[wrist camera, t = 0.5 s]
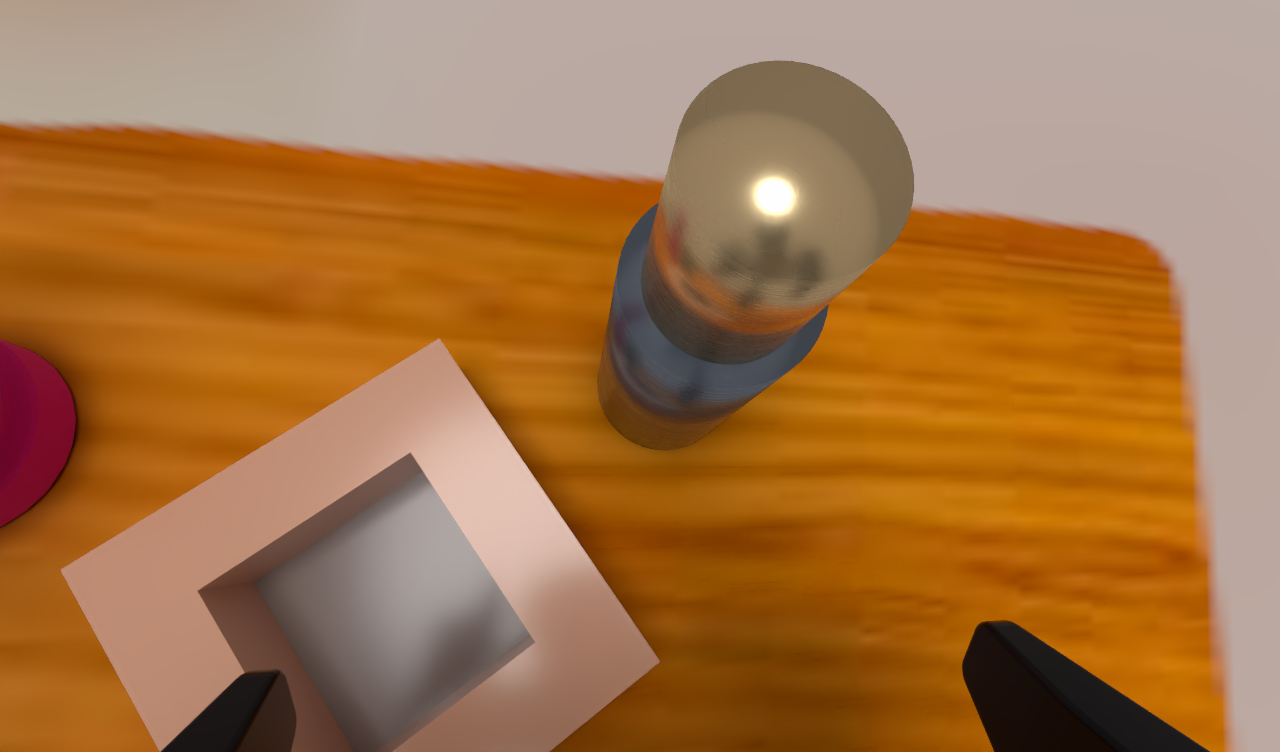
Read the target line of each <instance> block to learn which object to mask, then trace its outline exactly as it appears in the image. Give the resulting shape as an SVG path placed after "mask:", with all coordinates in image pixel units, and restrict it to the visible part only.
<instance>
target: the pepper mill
mask: <svg viewBox="0 0 1280 752" xmlns="http://www.w3.org/2000/svg"><path fill="white" fill-rule="evenodd" d="M75 425H76V415H75V410H74V404H73V399H72V396H71V392H70V390H69V388H68V386H67V385H66V383H65V382H64V380H63V379H62V377H61V376H60V374H59V373H58V371H57V370H56V369H55V368H54V367H53V366H52V365H51V364H50V363H48V362H47V361H46V360H45V359H43V358H42V357H41V356H39V355H37V354H35V353H33V352H32V351H30V350H28V349H25V348H22V347H19V346H17V345H14V344H11V343H8V342H6V341H3V340H0V527H1V526H3V525H5V524H6V523H8V522H10V521H11V520H13V519H14V518H16V517H18V516H19V515H21V514H22V513H24V512H25V511H26V510H27V509H28V508H30V507H31V506H32V505H33V504H34V503H35V502H36V501H38V500H39V499H40V498H41V497H42V496H43V495H44V494H45V493H46V492H47V491H48V489H49V488H50V487H51V485H52V484H53V482H54V481H55V479H56V478H57V476H58V475H59V473H60V472H61V470H62V469H63V467H64V466H65V464H66V461H67V459H68V456H69V453H70V450H71V448H72V444H73V438H74V432H75Z"/></svg>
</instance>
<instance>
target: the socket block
mask: <svg viewBox="0 0 1280 752" xmlns="http://www.w3.org/2000/svg"><path fill="white" fill-rule="evenodd" d="M61 572H62V574H63V576H64V578H65V579H66V581H67V583H68V585H69V587H70V589H71V590H72V592H73V594H74V596H75V598H76V599H77V601H78V603H79V605H80V607H81V609H82V610H83V612H84V614H85V616H86V618H87V620H88V621H89V623H90V625H91V627H92V629H93V631H94V632H95V634H96V636H97V638H98V640H99V641H100V643H101V645H102V647H103V649H104V651H105V652H106V654H107V656H108V658H109V660H110V662H111V663H112V665H113V667H114V669H115V671H116V673H117V674H118V676H119V678H120V680H121V682H122V684H123V685H124V687H125V689H126V691H127V693H128V694H129V696H130V698H131V700H132V702H133V704H134V705H135V707H136V709H137V711H138V713H139V715H140V716H141V718H142V720H143V722H144V724H145V726H146V727H147V729H148V731H149V733H150V735H151V737H152V738H153V740H154V742H155V744H156V746H157V747H158V749H159V751H160V752H161V751H162V750H163V749H164V748H165V747H166V746H167V745H168V744H169V743H170V742H171V741H172V740H173V739H174V738H175V737H176V736H177V735H178V734H179V733H180V732H181V731H182V730H183V729H184V728H185V727H186V726H188V725H189V724H190V723H191V722H192V721H193V720H194V719H195V718H196V717H197V716H198V715H199V714H200V713H201V712H202V711H203V710H204V709H205V708H206V707H207V706H208V705H209V704H210V703H211V702H212V701H214V700H215V699H216V698H217V697H218V696H219V695H220V694H221V693H222V692H223V691H224V690H225V689H226V688H227V687H228V686H229V685H230V684H231V683H232V682H233V681H234V680H235V679H236V678H238V677H239V676H240V675H242V674H243V673H245V672H247V671H252V670H266V669H280V670H282V671H283V672H284V673H285V676H286V678H287V682H288V685H289V689H290V692H291V696H292V699H293V703H294V706H295V710H296V715H297V725H296V733H295V737H294V742H293V746H292V750H291V752H550V751H551V750H552V749H553V748H555V747H556V746H557V745H558V744H560V743H561V742H562V741H563V740H564V739H566V738H567V737H568V736H569V735H571V734H572V733H573V732H574V731H575V730H577V729H578V728H579V727H580V726H582V725H583V724H584V723H585V722H587V721H588V720H589V719H590V718H591V717H593V716H594V715H595V714H596V713H598V712H599V711H600V710H601V709H603V708H604V707H605V706H606V705H607V704H609V703H610V702H611V701H612V700H614V699H615V698H616V697H617V696H618V695H620V694H621V693H622V692H623V691H625V690H626V689H627V688H628V687H630V686H631V685H632V684H633V683H634V682H636V681H637V680H638V679H639V678H641V677H642V676H643V675H644V674H646V673H647V672H648V671H649V670H650V669H652V668H653V667H654V666H655V665H657V664H658V663H659V662H660V660H659V659H658V658H657V656H656V655H655V653H654V652H653V650H652V649H651V647H650V646H649V644H648V643H647V641H646V640H645V639H644V637H643V636H642V634H641V633H640V631H639V630H638V628H637V627H636V625H635V624H634V622H633V621H632V620H631V618H630V617H629V615H628V614H627V612H626V611H625V609H624V608H623V606H622V605H621V603H620V602H619V601H618V599H617V598H616V596H615V595H614V593H613V592H612V590H611V589H610V587H609V586H608V584H607V583H606V581H605V580H604V579H603V577H602V576H601V574H600V573H599V571H598V570H597V568H596V567H595V565H594V564H593V562H592V561H591V560H590V558H589V557H588V555H587V554H586V552H585V551H584V549H583V548H582V546H581V545H580V543H579V542H578V541H577V539H576V538H575V536H574V535H573V533H572V532H571V530H570V529H569V527H568V526H567V524H566V523H565V522H564V520H563V519H562V517H561V516H560V514H559V513H558V511H557V510H556V508H555V507H554V505H553V504H552V503H551V501H550V500H549V498H548V497H547V495H546V494H545V492H544V491H543V489H542V488H541V486H540V485H539V483H538V482H537V481H536V479H535V478H534V476H533V475H532V473H531V472H530V470H529V469H528V467H527V466H526V464H525V463H524V462H523V460H522V459H521V457H520V456H519V454H518V453H517V451H516V450H515V448H514V447H513V445H512V444H511V443H510V441H509V440H508V438H507V437H506V435H505V434H504V432H503V431H502V429H501V428H500V426H499V425H498V424H497V422H496V421H495V419H494V418H493V416H492V415H491V413H490V412H489V410H488V409H487V407H486V406H485V404H484V403H483V402H482V400H481V399H480V397H479V396H478V394H477V393H476V391H475V390H474V388H473V387H472V385H471V384H470V383H469V381H468V380H467V378H466V377H465V375H464V374H463V372H462V371H461V369H460V368H459V366H458V365H457V364H456V362H455V361H454V359H453V358H452V356H451V355H450V353H449V352H448V350H447V349H446V347H445V346H444V345H443V343H442V342H441V340H440V339H437V340H435V341H434V342H432V343H431V344H429V345H427V346H426V347H424V348H422V349H421V350H419V351H417V352H416V353H414V354H413V355H411V356H409V357H408V358H406V359H404V360H403V361H401V362H399V363H398V364H396V365H395V366H393V367H391V368H390V369H388V370H386V371H385V372H383V373H381V374H380V375H378V376H377V377H375V378H373V379H372V380H370V381H368V382H367V383H365V384H364V385H362V386H360V387H359V388H357V389H355V390H354V391H352V392H350V393H349V394H347V395H346V396H344V397H342V398H341V399H339V400H337V401H336V402H334V403H332V404H331V405H329V406H328V407H326V408H324V409H323V410H321V411H319V412H318V413H316V414H314V415H313V416H311V417H310V418H308V419H306V420H305V421H303V422H301V423H300V424H298V425H296V426H295V427H293V428H292V429H290V430H288V431H287V432H285V433H283V434H282V435H280V436H278V437H277V438H275V439H274V440H272V441H270V442H269V443H267V444H265V445H264V446H262V447H260V448H259V449H257V450H256V451H254V452H252V453H251V454H249V455H247V456H246V457H244V458H242V459H241V460H239V461H238V462H236V463H234V464H233V465H231V466H229V467H228V468H226V469H224V470H223V471H221V472H220V473H218V474H216V475H215V476H213V477H211V478H210V479H208V480H206V481H205V482H203V483H202V484H200V485H198V486H197V487H195V488H193V489H192V490H190V491H188V492H187V493H185V494H184V495H182V496H180V497H179V498H177V499H175V500H174V501H172V502H170V503H169V504H167V505H166V506H164V507H162V508H161V509H159V510H157V511H156V512H154V513H152V514H151V515H149V516H148V517H146V518H144V519H143V520H141V521H139V522H138V523H136V524H134V525H133V526H131V527H130V528H128V529H126V530H125V531H123V532H121V533H120V534H118V535H117V536H115V537H113V538H112V539H110V540H108V541H107V542H105V543H103V544H102V545H100V546H99V547H97V548H95V549H94V550H92V551H90V552H89V553H87V554H85V555H84V556H82V557H81V558H79V559H77V560H76V561H74V562H72V563H71V564H69V565H67V566H66V567H64V568H63V569H61Z"/></svg>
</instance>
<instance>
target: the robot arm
mask: <svg viewBox="0 0 1280 752" xmlns="http://www.w3.org/2000/svg"><path fill="white" fill-rule="evenodd" d="M962 671H963V677H964V680H965V683H966V685H967V688H968V690H969V693H970V695H971V697H972V700H973V702H974V705H975V707H976V709H977V712H978V714H979V716H980V719H981V721H982V724H983V726H984V728H985V731H986V733H987V735H988V738H989V740H990V743H991V745H992V747H993V750H994V752H1210V751H1208V750H1207V749H1205V748H1204V747H1202V746H1201V745H1199V744H1198V743H1196V742H1195V741H1193V740H1192V739H1190V738H1189V737H1187V736H1185V735H1184V734H1182V733H1181V732H1179V731H1178V730H1176V729H1175V728H1173V727H1172V726H1170V725H1169V724H1167V723H1166V722H1164V721H1163V720H1161V719H1160V718H1158V717H1157V716H1155V715H1154V714H1152V713H1151V712H1149V711H1148V710H1146V709H1145V708H1143V707H1141V706H1140V705H1138V704H1137V703H1135V702H1134V701H1132V700H1131V699H1129V698H1128V697H1126V696H1125V695H1123V694H1122V693H1120V692H1119V691H1117V690H1116V689H1114V688H1113V687H1111V686H1110V685H1108V684H1107V683H1105V682H1104V681H1102V680H1101V679H1099V678H1097V677H1096V676H1094V675H1093V674H1091V673H1090V672H1088V671H1087V670H1085V669H1084V668H1082V667H1081V666H1079V665H1078V664H1076V663H1075V662H1073V661H1072V660H1070V659H1069V658H1067V657H1066V656H1064V655H1063V654H1061V653H1060V652H1058V651H1057V650H1055V649H1053V648H1052V647H1050V646H1049V645H1047V644H1046V643H1044V642H1043V641H1041V640H1040V639H1038V638H1037V637H1035V636H1034V635H1032V634H1031V633H1029V632H1028V631H1026V630H1025V629H1023V628H1022V627H1020V626H1019V625H1017V624H1015V623H1013V622H1011V621H1006V620H1001V621H986V622H981V623H980V624H979V625H978V626H977V627H976V629H975V631H974V634H973V636H972V639H971V641H970V644H969V647H968V649H967V652H966V654H965V657H964V659H963V663H962ZM296 725H297V715H296V710H295V706H294V703H293V699H292V696H291V692H290V689H289V685H288V682H287V678H286V676H285V673H284V672H283V671H282V670H280V669H266V670H252V671H247V672H245V673H243V674H242V675H240V676H239V677H238V678H236V679H235V680H234V681H233V682H232V683H231V684H230V685H229V686H228V687H227V688H226V689H225V690H224V691H223V692H222V693H221V694H220V695H219V696H218V697H217V698H216V699H215V700H214V701H212V702H211V703H210V704H209V705H208V706H207V707H206V708H205V709H204V710H203V711H202V712H201V713H200V714H199V715H198V716H197V717H196V718H195V719H194V720H193V721H192V722H191V723H190V724H189V725H188V726H186V727H185V728H184V729H183V730H182V731H181V732H180V733H179V734H178V735H177V736H176V737H175V738H174V739H173V740H172V741H171V742H170V743H169V744H168V745H167V746H166V747H165V748H164V749H163V750H162V751H161V752H291V750H292V746H293V742H294V737H295V733H296Z"/></svg>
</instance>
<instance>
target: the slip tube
mask: <svg viewBox="0 0 1280 752" xmlns="http://www.w3.org/2000/svg"><path fill="white" fill-rule="evenodd" d="M913 193H914V175H913V169H912V162H911V159H910V155H909V152H908V148H907V146H906V144H905V142H904V139H903V137H902V135H901V133H900V131H899V130H898V128H897V126H896V125H895V123H894V121H893V120H892V119H891V117H890V116H889V115H888V113H887V112H886V111H885V109H884V108H883V107H882V106H881V105H880V104H879V103H878V102H877V101H876V100H875V99H874V98H873V97H872V96H870V95H869V94H868V93H867V92H866V91H864V90H863V89H862V88H860V87H858V86H857V85H856V84H854V83H853V82H851V81H849V80H848V79H846V78H844V77H842V76H840V75H838V74H836V73H834V72H831V71H829V70H826V69H824V68H821V67H817V66H814V65H810V64H806V63H799V62H793V61H766V62H759V63H754V64H749V65H746V66H743V67H740V68H737V69H734V70H732V71H730V72H728V73H726V74H724V75H722V76H720V77H719V78H717V79H716V80H714V81H713V82H711V83H710V84H709V85H708V86H707V87H706V88H704V89H703V90H702V91H701V92H700V93H699V94H698V96H697V97H696V98H695V99H694V100H693V102H692V103H691V105H690V106H689V108H688V109H687V111H686V113H685V115H684V117H683V119H682V122H681V124H680V127H679V130H678V133H677V137H676V141H675V145H674V148H673V152H672V156H671V160H670V164H669V167H668V171H667V175H666V178H665V182H664V186H663V190H662V193H661V197H660V201H659V203H658V204H656V205H655V206H654V207H652V208H651V209H650V210H649V211H648V212H647V213H645V214H644V215H643V216H642V217H641V218H640V220H639V221H638V222H637V223H636V225H635V226H634V227H633V229H632V230H631V232H630V234H629V235H628V237H627V239H626V241H625V244H624V246H623V249H622V252H621V256H620V259H619V264H618V269H617V275H616V280H615V286H614V291H613V297H612V302H611V308H610V314H609V319H608V325H607V330H606V336H605V341H604V347H603V352H602V358H601V364H600V369H599V375H598V394H599V400H600V403H601V406H602V409H603V411H604V413H605V415H606V417H607V418H608V420H609V422H610V423H611V424H612V425H613V427H614V428H615V429H616V430H617V431H618V432H619V433H620V434H621V435H623V436H624V437H625V438H627V439H628V440H630V441H632V442H634V443H635V444H638V445H640V446H643V447H646V448H650V449H657V450H672V449H678V448H681V447H685V446H688V445H690V444H692V443H694V442H696V441H697V440H699V439H701V438H702V437H703V436H705V435H706V434H707V433H708V432H710V431H711V430H712V429H714V428H715V427H716V426H718V425H719V424H720V423H722V422H723V421H724V420H726V419H727V418H728V417H729V416H731V415H732V414H733V413H735V412H736V411H737V410H739V409H740V408H741V407H743V406H744V405H745V404H746V403H748V402H749V401H750V400H752V399H753V398H754V397H756V396H757V395H758V394H760V393H761V392H762V391H763V390H765V389H766V388H767V387H769V386H770V385H771V384H773V383H774V382H775V381H777V380H778V379H779V378H781V377H782V376H783V375H784V374H786V373H787V372H788V371H790V370H791V369H792V368H793V367H795V366H796V365H797V364H798V363H799V362H801V361H802V359H803V358H804V357H805V356H806V355H807V354H808V353H809V352H810V350H811V349H812V347H813V346H814V344H815V343H816V341H817V340H818V337H819V335H820V333H821V331H822V329H823V326H824V323H825V320H826V316H827V310H828V304H829V303H830V302H831V301H832V300H833V299H834V298H835V297H837V296H838V295H839V294H840V293H841V292H842V291H843V290H844V289H845V288H846V287H848V286H849V285H850V284H851V283H852V282H853V281H854V280H855V279H856V278H857V277H859V276H860V275H861V274H862V273H863V272H864V271H865V270H866V269H867V268H869V267H870V266H871V265H872V264H873V263H874V262H875V261H876V260H877V259H878V258H880V257H881V256H882V255H883V254H884V253H885V252H886V251H887V250H888V249H889V248H890V247H891V245H892V244H893V243H894V242H895V241H896V239H897V238H898V236H899V235H900V233H901V232H902V230H903V228H904V226H905V224H906V221H907V219H908V217H909V213H910V210H911V206H912V201H913Z"/></svg>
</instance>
